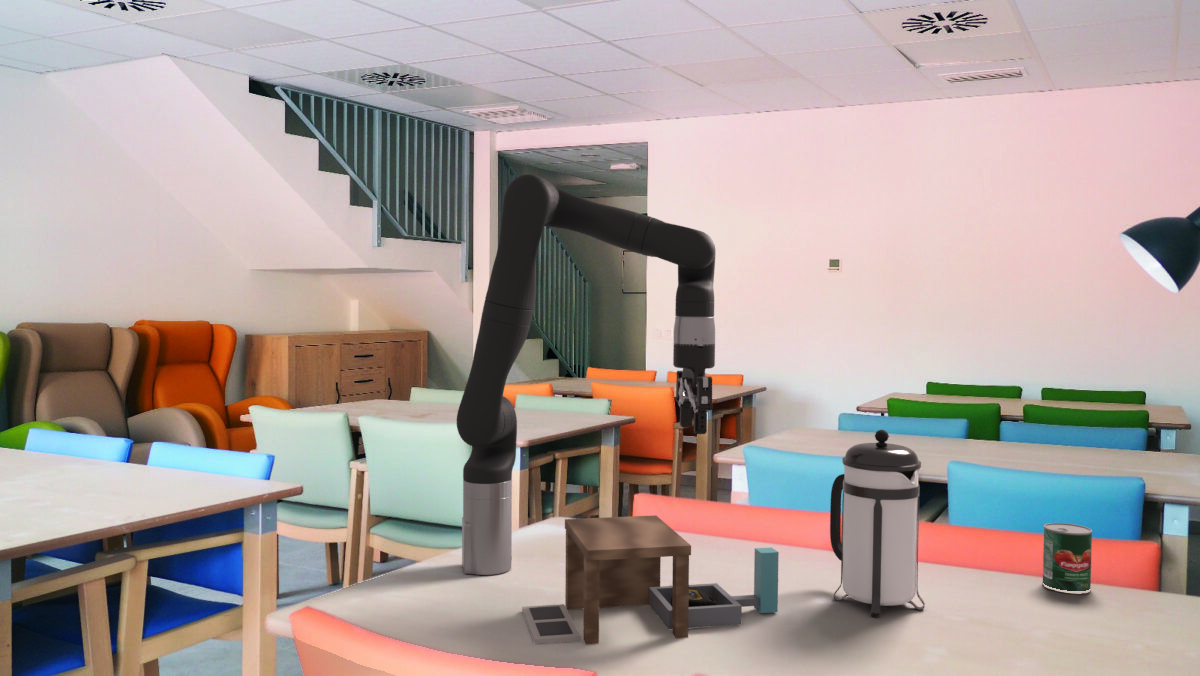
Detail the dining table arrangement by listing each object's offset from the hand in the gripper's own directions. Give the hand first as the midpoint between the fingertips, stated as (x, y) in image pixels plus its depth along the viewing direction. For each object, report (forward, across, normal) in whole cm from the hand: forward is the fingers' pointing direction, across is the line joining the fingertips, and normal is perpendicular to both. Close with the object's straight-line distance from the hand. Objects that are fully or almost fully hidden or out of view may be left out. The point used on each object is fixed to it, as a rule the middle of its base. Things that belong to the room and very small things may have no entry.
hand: (692, 430), depth 171 cm
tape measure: (+28, +17, -5) cm, 33 cm away
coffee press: (+28, +17, +27) cm, 43 cm away
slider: (+28, +18, -1) cm, 33 cm away
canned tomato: (+28, +16, +66) cm, 74 cm away
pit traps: (+28, +18, -29) cm, 44 cm away
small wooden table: (+28, +18, -17) cm, 37 cm away
